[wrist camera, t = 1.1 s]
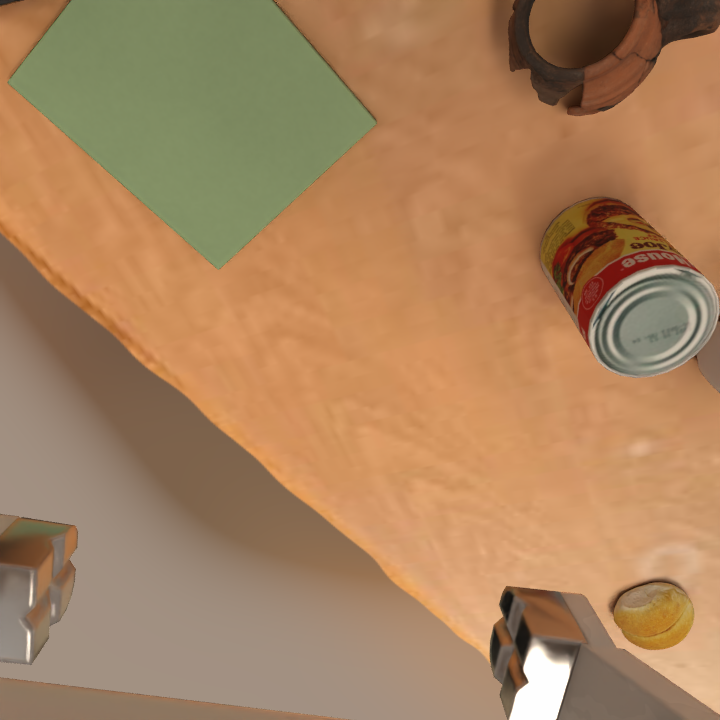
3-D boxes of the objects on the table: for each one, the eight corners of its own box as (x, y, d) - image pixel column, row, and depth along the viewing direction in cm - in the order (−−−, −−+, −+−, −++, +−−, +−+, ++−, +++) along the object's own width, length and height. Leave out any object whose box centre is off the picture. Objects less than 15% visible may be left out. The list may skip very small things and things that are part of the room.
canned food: (665, 229, 50) (748, 304, 40) (595, 309, 54) (654, 396, 43) (586, 177, 48) (653, 242, 38) (518, 263, 51) (562, 345, 41)
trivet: (10, 80, 43) (6, 82, 43) (168, -122, 38) (166, -123, 37) (219, 267, 51) (218, 270, 50) (377, 121, 45) (377, 123, 45)
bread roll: (629, 638, 78) (642, 670, 74) (601, 597, 73) (613, 629, 70) (698, 613, 75) (715, 645, 72) (673, 570, 71) (690, 601, 68)
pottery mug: (529, 139, 47) (514, 120, 39) (506, 0, 46) (486, -48, 38) (720, 90, 42) (746, 57, 34) (700, -66, 41) (722, -135, 33)
